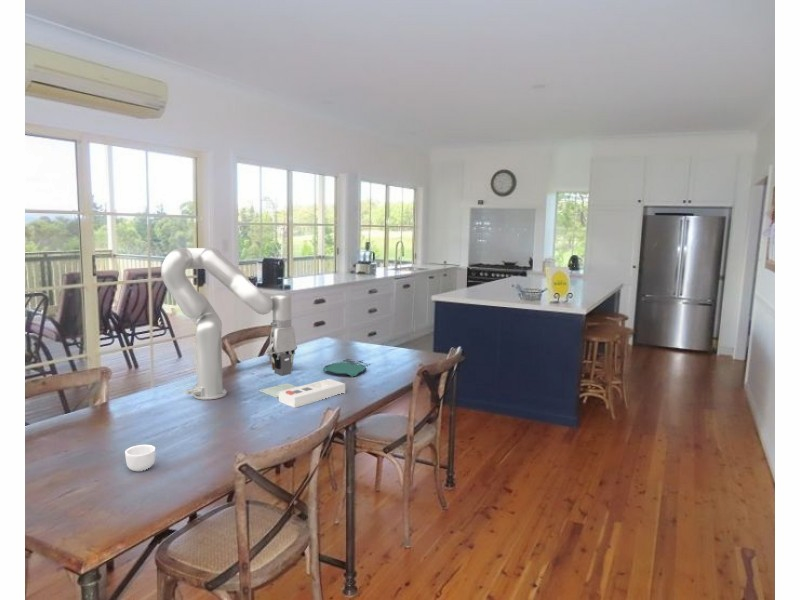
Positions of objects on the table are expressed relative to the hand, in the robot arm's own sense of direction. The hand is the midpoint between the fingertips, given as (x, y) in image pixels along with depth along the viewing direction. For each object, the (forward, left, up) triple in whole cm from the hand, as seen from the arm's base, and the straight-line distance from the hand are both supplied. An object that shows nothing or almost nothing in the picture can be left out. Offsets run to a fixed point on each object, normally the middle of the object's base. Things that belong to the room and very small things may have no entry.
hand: (282, 366), depth 226 cm
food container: (+21, +27, -11) cm, 36 cm away
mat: (0, 0, -10) cm, 10 cm away
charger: (0, 0, -3) cm, 3 cm away
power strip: (+4, -15, -10) cm, 18 cm away
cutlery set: (+44, +6, -11) cm, 46 cm away
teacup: (-71, -29, -11) cm, 78 cm away
